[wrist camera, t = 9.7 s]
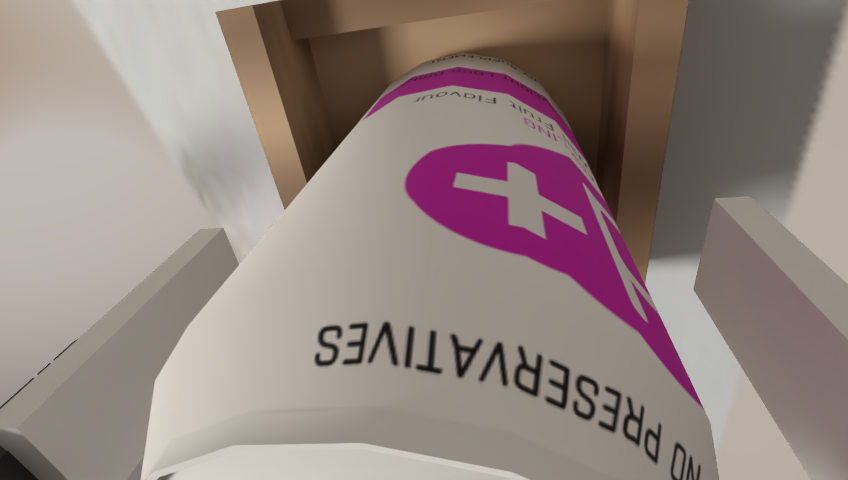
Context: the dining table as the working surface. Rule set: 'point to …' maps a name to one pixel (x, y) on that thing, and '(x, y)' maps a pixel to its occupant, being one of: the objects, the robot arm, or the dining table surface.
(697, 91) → the dining table surface
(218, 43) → the dining table surface
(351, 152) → the supplement can
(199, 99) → the dining table surface
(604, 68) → the walnut caddy
